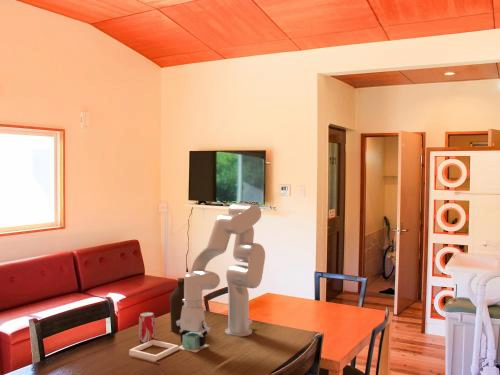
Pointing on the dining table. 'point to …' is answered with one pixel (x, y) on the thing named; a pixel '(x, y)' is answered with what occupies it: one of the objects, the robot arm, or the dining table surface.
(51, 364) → the dining table surface
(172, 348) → the white square frame
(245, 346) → the dining table surface
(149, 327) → the soda can
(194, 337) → the collar
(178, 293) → the olive oil
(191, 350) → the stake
